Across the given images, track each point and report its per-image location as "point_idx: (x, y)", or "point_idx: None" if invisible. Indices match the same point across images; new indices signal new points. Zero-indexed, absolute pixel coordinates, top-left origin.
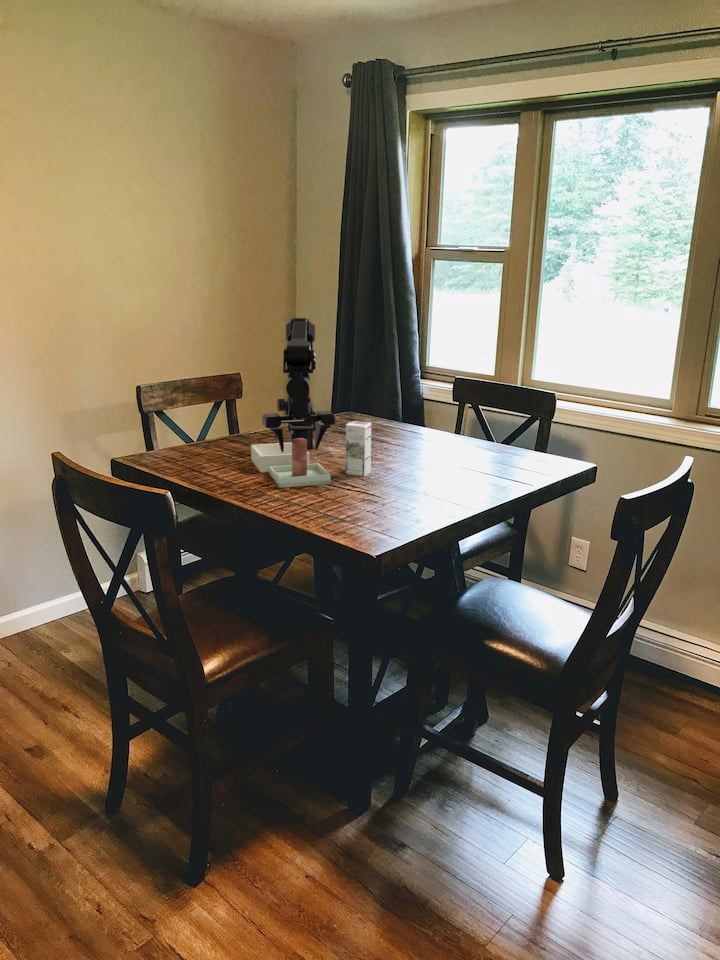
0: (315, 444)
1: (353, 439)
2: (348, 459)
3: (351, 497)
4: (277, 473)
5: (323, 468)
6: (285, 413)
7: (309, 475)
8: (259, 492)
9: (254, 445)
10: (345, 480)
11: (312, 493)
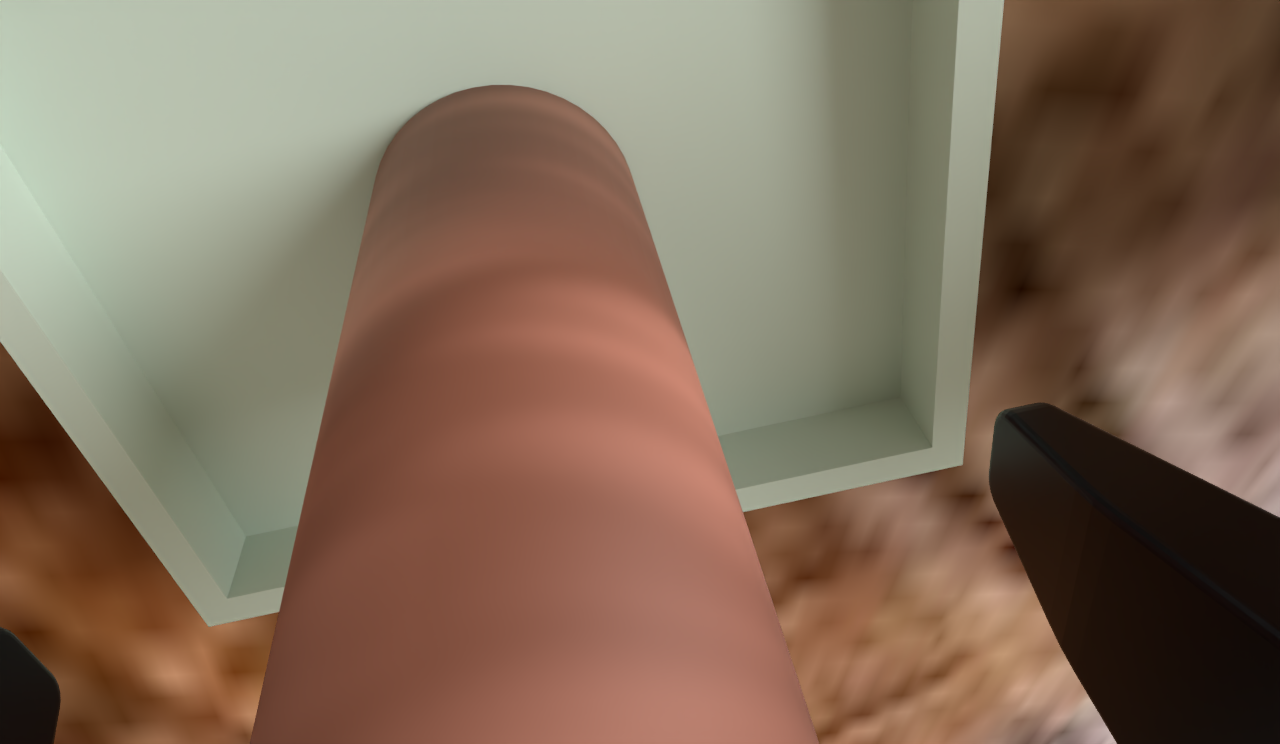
0: (1077, 602)
1: None
2: None
3: (956, 709)
4: (31, 22)
5: (982, 132)
6: None
7: (681, 195)
8: (40, 657)
9: None
10: (1153, 249)
11: None
